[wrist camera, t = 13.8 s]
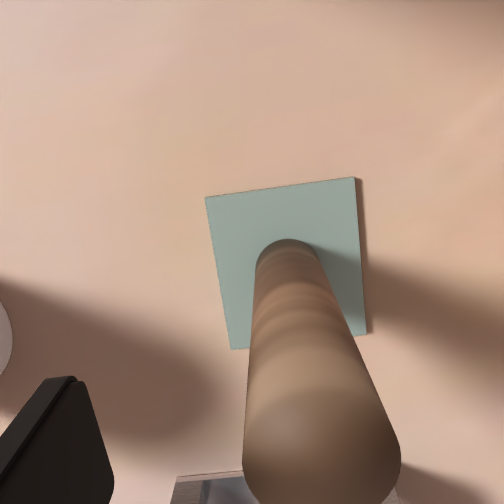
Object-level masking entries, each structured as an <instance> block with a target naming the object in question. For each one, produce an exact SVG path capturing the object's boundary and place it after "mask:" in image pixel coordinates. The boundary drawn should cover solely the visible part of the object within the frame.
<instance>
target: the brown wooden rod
mask: <svg viewBox="0 0 504 504" xmlns="http://www.w3.org/2000/svg"><path fill="white" fill-rule="evenodd" d="M242 466H243V473H244V477H245V480H246V483H247V485H248V487H249V489H250V491H251V492H252V494H253V496H254V497H255V498H256V499H257V500H258V502H259V503H260V504H381V503H382V502H383V501H384V500H385V499H386V498H387V497H388V495H389V494H390V492H391V491H392V489H393V488H394V486H395V484H396V482H397V479H398V476H399V473H400V467H401V452H400V446H399V443H398V440H397V437H396V434H395V432H394V430H393V428H392V425H391V423H390V421H389V418H388V416H387V414H386V411H385V409H384V407H383V405H382V402H381V400H380V398H379V395H378V393H377V391H376V389H375V386H374V384H373V382H372V379H371V377H370V375H369V372H368V370H367V368H366V366H365V363H364V361H363V359H362V356H361V354H360V352H359V350H358V347H357V345H356V343H355V340H354V338H353V336H352V333H351V331H350V329H349V327H348V324H347V322H346V320H345V317H344V315H343V313H342V311H341V308H340V306H339V304H338V301H337V299H336V297H335V294H334V292H333V290H332V288H331V285H330V283H329V281H328V278H327V276H326V274H325V272H324V269H323V267H322V265H321V262H320V260H319V258H318V256H317V254H316V252H315V251H314V250H313V249H312V248H311V247H310V246H309V245H307V244H306V243H304V242H302V241H299V240H296V239H281V240H278V241H275V242H273V243H271V244H269V245H268V246H267V247H266V248H264V250H263V251H262V252H261V253H260V255H259V257H258V259H257V262H256V267H255V282H254V296H253V311H252V325H251V339H250V354H249V368H248V383H247V397H246V412H245V426H244V441H243V455H242Z"/></svg>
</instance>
